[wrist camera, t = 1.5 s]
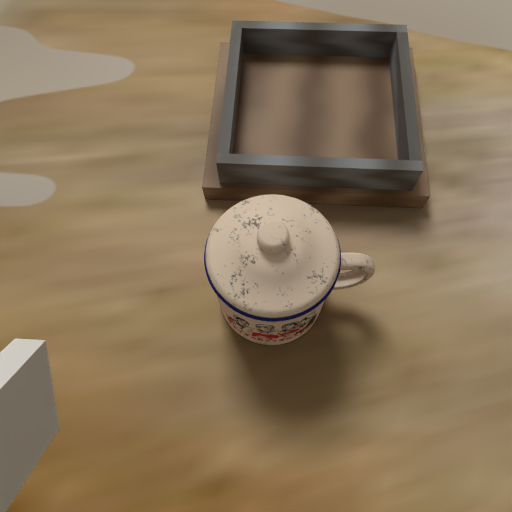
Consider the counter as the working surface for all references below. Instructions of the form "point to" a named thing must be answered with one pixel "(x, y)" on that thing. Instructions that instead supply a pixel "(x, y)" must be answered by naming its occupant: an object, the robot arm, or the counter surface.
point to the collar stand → (317, 116)
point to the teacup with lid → (277, 267)
